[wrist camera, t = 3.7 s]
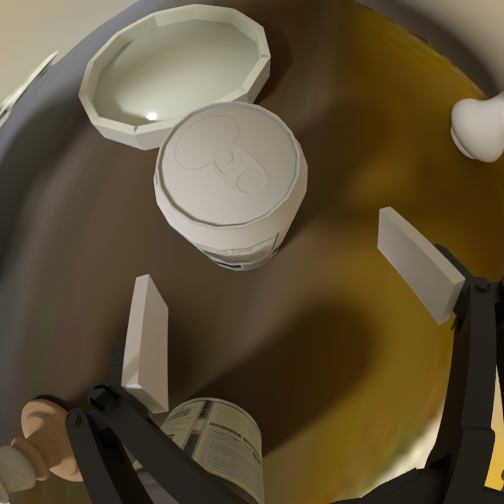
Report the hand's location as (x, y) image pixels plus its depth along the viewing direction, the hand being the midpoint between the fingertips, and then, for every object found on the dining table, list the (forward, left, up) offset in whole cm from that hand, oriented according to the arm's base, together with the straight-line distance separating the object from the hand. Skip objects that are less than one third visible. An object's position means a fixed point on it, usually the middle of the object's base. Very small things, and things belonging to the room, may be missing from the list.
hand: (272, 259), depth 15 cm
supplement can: (-4, +3, -12) cm, 13 cm away
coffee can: (+2, -18, -12) cm, 22 cm away
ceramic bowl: (-21, +19, -12) cm, 31 cm away
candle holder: (-15, -31, -12) cm, 36 cm away
